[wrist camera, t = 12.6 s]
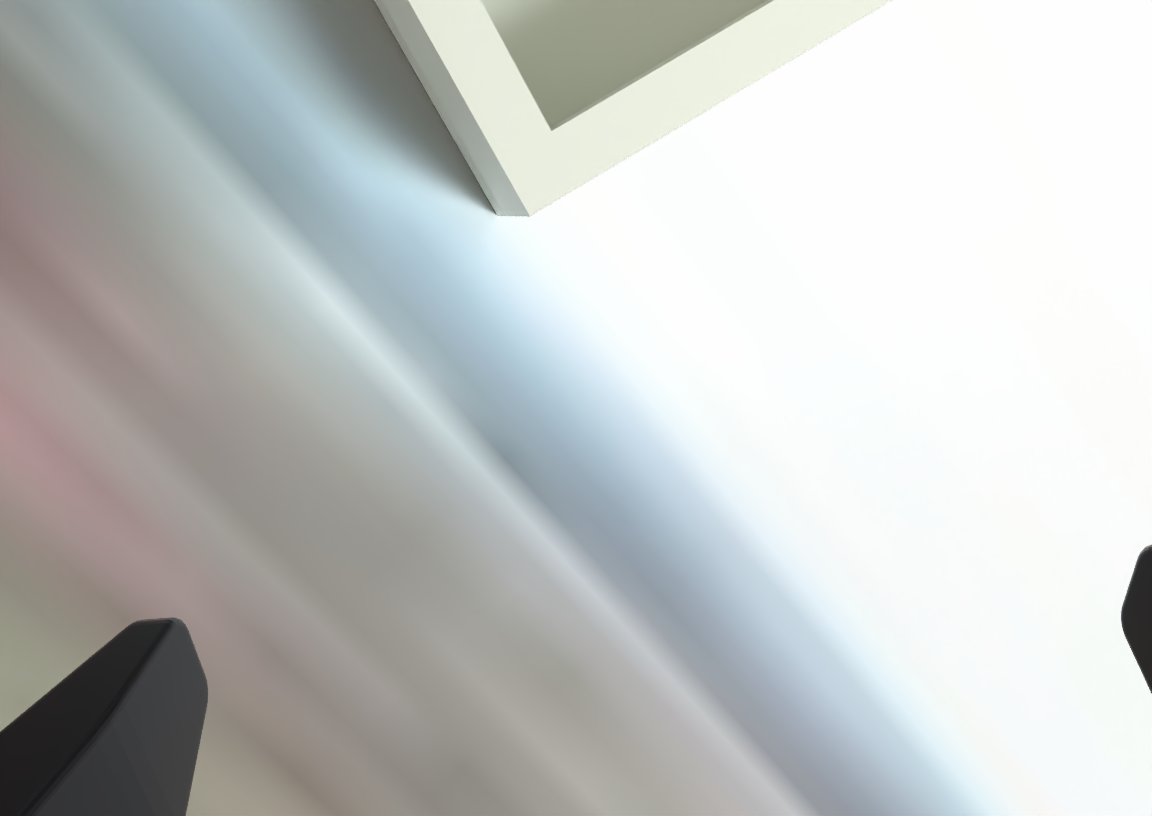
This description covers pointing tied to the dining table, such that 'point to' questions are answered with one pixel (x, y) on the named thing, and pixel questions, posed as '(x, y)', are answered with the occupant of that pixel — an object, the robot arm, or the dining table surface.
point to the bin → (591, 76)
